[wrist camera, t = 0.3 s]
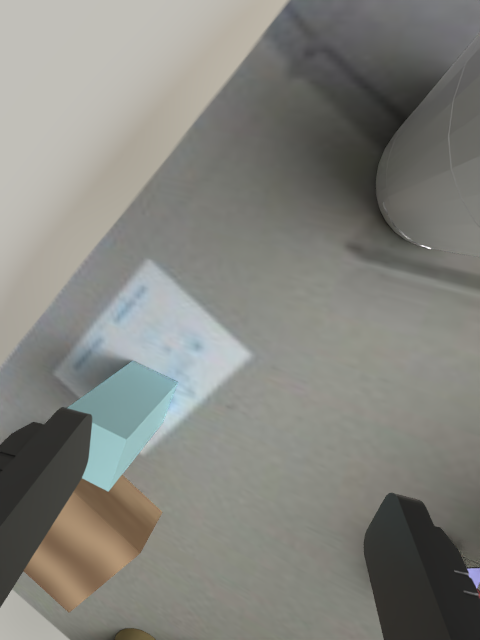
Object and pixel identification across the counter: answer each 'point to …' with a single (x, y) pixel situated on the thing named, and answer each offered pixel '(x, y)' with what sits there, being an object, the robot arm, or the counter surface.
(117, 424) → the teal block
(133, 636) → the cork
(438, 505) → the counter surface
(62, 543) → the walnut block
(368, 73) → the counter surface
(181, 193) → the counter surface
